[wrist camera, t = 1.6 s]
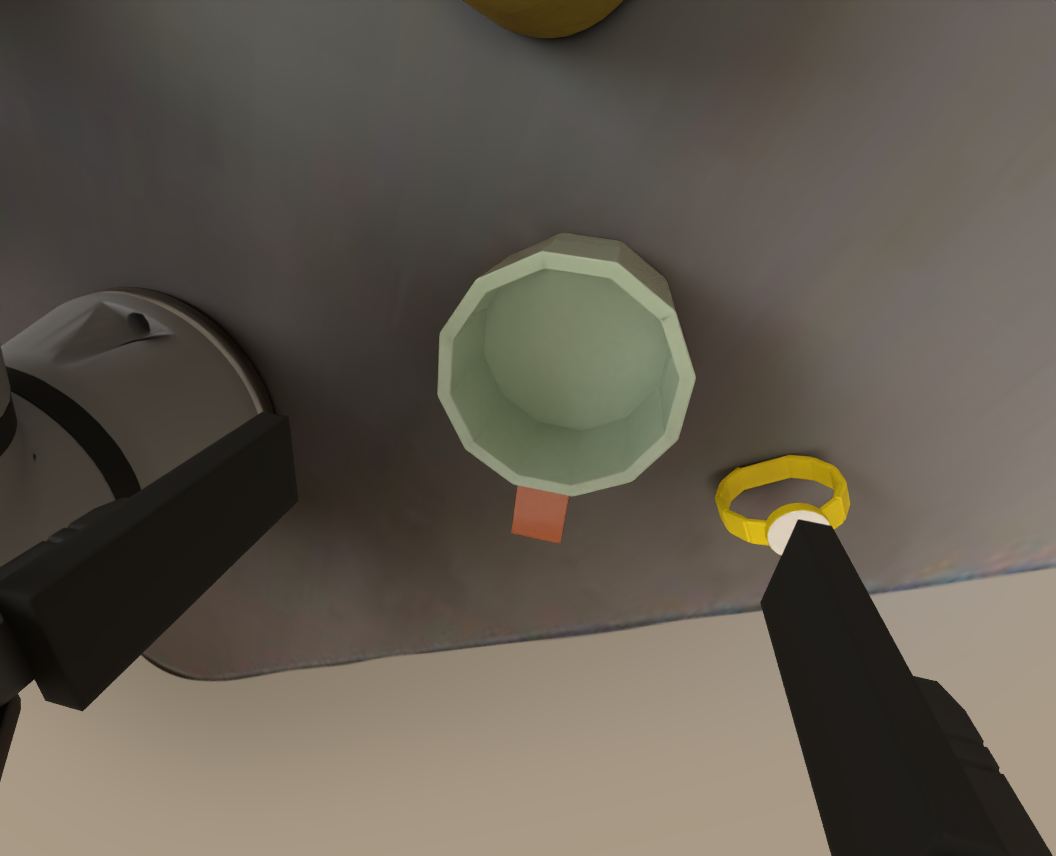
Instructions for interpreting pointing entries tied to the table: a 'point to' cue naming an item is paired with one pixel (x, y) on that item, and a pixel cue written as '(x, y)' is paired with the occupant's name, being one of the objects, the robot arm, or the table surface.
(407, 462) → the table surface
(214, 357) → the robot arm
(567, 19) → the mug
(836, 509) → the watch
